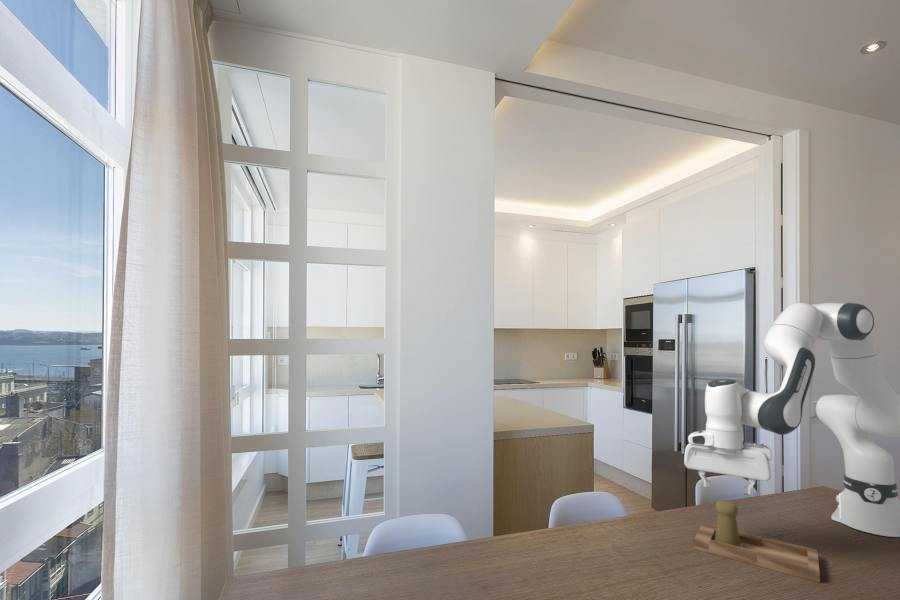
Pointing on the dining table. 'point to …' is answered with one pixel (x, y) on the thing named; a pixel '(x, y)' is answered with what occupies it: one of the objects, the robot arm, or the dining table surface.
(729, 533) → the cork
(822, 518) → the dining table surface
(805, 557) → the keyhole board
